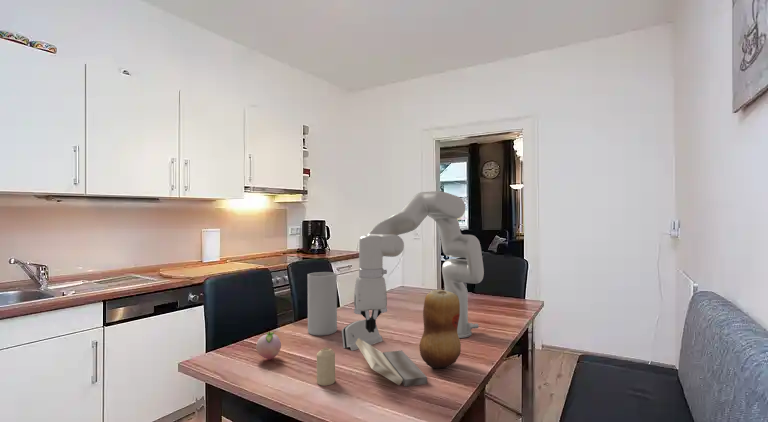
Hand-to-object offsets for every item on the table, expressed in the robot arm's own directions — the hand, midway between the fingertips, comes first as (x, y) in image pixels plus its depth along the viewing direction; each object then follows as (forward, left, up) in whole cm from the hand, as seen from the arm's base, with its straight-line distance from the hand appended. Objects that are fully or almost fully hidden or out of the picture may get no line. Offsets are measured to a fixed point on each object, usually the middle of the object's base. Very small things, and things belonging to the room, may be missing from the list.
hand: (370, 331), depth 124 cm
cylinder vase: (+10, -49, -14) cm, 52 cm away
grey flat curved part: (-3, -29, -14) cm, 33 cm away
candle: (+15, +2, -14) cm, 20 cm away
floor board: (-11, 0, -13) cm, 17 cm away
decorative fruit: (+32, -22, -14) cm, 41 cm away
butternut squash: (-23, +1, -14) cm, 27 cm away
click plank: (-1, 0, -10) cm, 10 cm away
